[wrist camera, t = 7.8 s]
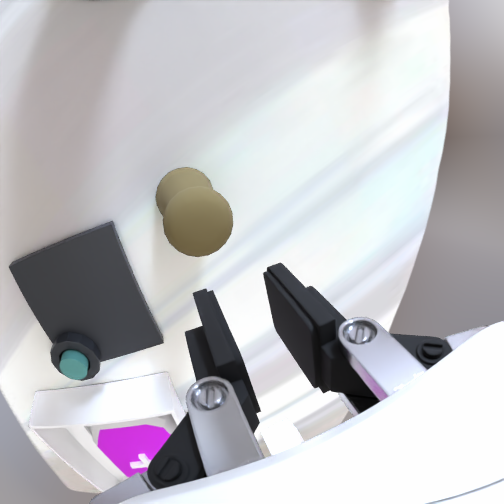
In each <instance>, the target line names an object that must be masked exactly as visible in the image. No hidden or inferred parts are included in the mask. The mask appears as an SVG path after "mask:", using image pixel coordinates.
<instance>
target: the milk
mask: <svg viewBox="0 0 504 504" xmlns="http://www.w3.org/2000/svg"><path fill="white" fill-rule="evenodd" d="M261 433H262V436H263V438H264V440H265V442H266V444H267V446H268V449H269V451H270V453H271V455H274V454H277V453H279V452H282V451H284V450H287V449H289V448H292V447H294V446H296V445H298V444H301V443H303V442H304V440H303V439H302V437H301V435H300V433H299V432H298V430H297V428H296V427H295V426H294V425H293V424H292V423H291V422H290V421H289V420H288V419H287V418H286V419H284V420H283V421H281V422H279V423H277V424H276V425H274V426H272V427H270V428H268V429H266V430H264V431H263V432H261Z"/></svg>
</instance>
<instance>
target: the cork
mask: <svg viewBox="0 0 504 504" xmlns="http://www.w3.org/2000/svg"><path fill="white" fill-rule="evenodd" d="M156 202H157V206H158V208H159V210H160V212H161V214H162V215H163V226H164V233H165V235H166V237H167V239H168V241H169V243H170V244H171V245H172V246H173V247H174V248H175V249H177V250H178V251H179V252H181V253H183V254H186V255H188V256H195V257H200V256H206V255H210V254H212V253H214V252H216V251H218V250H219V249H220V248H221V247H222V246H223V245H224V244H225V243H226V242H227V240H228V238H229V237H230V235H231V231H232V227H233V216H232V211H231V208H230V206H229V203H228V202H227V201H226V200H225V199H224V197H223V196H222V195H221V194H220V193H218V192H216V191H214V190H213V188H212V185H211V183H210V180H209V179H208V178H207V177H206V176H205V175H204V173H202V172H200V171H198V170H197V169H193V168H188V167H185V168H177V169H175V170H173V171H171V172H169V173H168V174H167V175H166V176H165V177H164V178H163V179H162V180H161V182H160V184H159V185H158V187H157V192H156Z"/></svg>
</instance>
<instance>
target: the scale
mask: <svg viewBox="0 0 504 504" xmlns="http://www.w3.org/2000/svg"><path fill="white" fill-rule="evenodd" d="M9 268H10V270H11V272H12V274H13V277H14V278H15V280H16V282H17V284H18V286H19V288H20V290H21V292H22V294H23V296H24V297H25V299H26V301H27V303H28V305H29V306H30V308H31V310H32V311H33V313H34V315H35V316H36V318H37V320H38V321H39V323H40V325H41V326H42V328H43V329H44V331H45V332H46V334H47V336H48V337H49V339H50V340H51V342H52V343H53V345H52V348H51V352H50V353H51V361H52V363H53V365H54V366H55V367H56V369H57V370H58V371H59V372H60V373H62V371H61V370H60V361H61V357H62V354H63V352H65V351H66V350H69V349H73V350H77V351H80V352H81V353H83V354H84V355H85V356H86V357H87V359H88V363H89V364H88V371H87V375H86V377H85V378H83V379H80V380H81V381H82V380H87V379H91V378H93V377H94V376H95V375H96V374H97V373H98V372H99V370H100V362H102V361H106V360H109V359H113V358H116V357H120V356H123V355H127V354H130V353H133V352H137V351H140V350H143V349H146V348H150V347H153V346H156V345H159V344H162V343H164V342H163V336H162V334H161V332H160V330H159V328H158V326H157V324H156V322H155V320H154V318H153V316H152V314H151V312H150V310H149V308H148V306H147V303H146V301H145V299H144V297H143V295H142V292H141V290H140V288H139V286H138V283H137V281H136V279H135V276H134V274H133V272H132V269H131V267H130V265H129V262H128V260H127V257H126V255H125V252H124V250H123V247H122V245H121V242H120V240H119V237H118V234H117V232H116V229H115V226H114V224H113V221H111V222H109V223H106V224H103V225H101V226H98V227H95V228H93V229H90V230H87V231H85V232H82V233H80V234H77V235H75V236H72V237H70V238H67V239H65V240H62V241H60V242H58V243H55V244H53V245H50V246H48V247H46V248H43V249H41V250H39V251H36V252H34V253H32V254H30V255H27V256H25V257H23V258H21V259H18V260H16V261H14V262H12V263H11V264H10V266H9ZM62 374H63V373H62ZM63 375H64V374H63ZM68 378H69V377H68ZM70 379H71V378H70Z"/></svg>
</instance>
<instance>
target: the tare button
mask: <svg viewBox="0 0 504 504" xmlns="http://www.w3.org/2000/svg"><path fill="white" fill-rule="evenodd" d="M88 364H89V363H88V359H87V357H86V356H85V355H84V354H83V353H81V352H80V351H77V350H73V349H69V350H66V351H65V352H63V354H62V357H61V361H60V370H61V371H62V373H63V374H64V375H65V376H67V377H69V378H71V379H75V380H80V379H83V378H85V377H86V375H87V371H88Z"/></svg>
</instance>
